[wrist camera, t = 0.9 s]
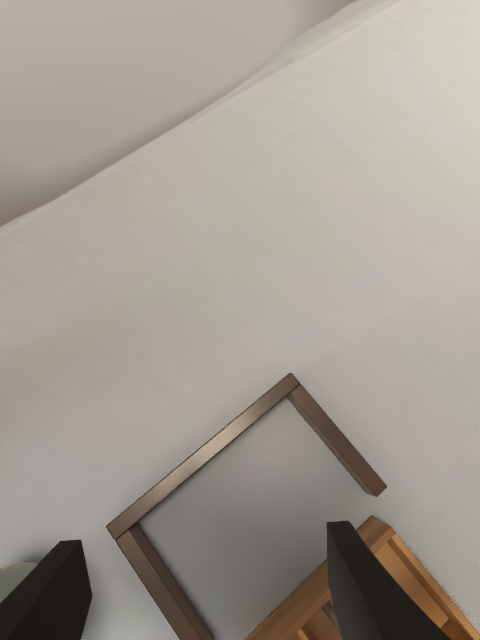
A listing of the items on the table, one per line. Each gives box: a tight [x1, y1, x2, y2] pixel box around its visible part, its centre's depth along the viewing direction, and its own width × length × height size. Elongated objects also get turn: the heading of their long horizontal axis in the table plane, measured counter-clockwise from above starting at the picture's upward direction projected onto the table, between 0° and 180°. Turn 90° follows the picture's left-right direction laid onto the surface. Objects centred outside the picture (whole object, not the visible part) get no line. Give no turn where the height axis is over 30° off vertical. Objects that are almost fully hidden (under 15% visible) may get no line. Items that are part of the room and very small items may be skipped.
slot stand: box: [106, 373, 387, 640], centre depth 30 cm, size 11×18×2 cm, turn 129°
